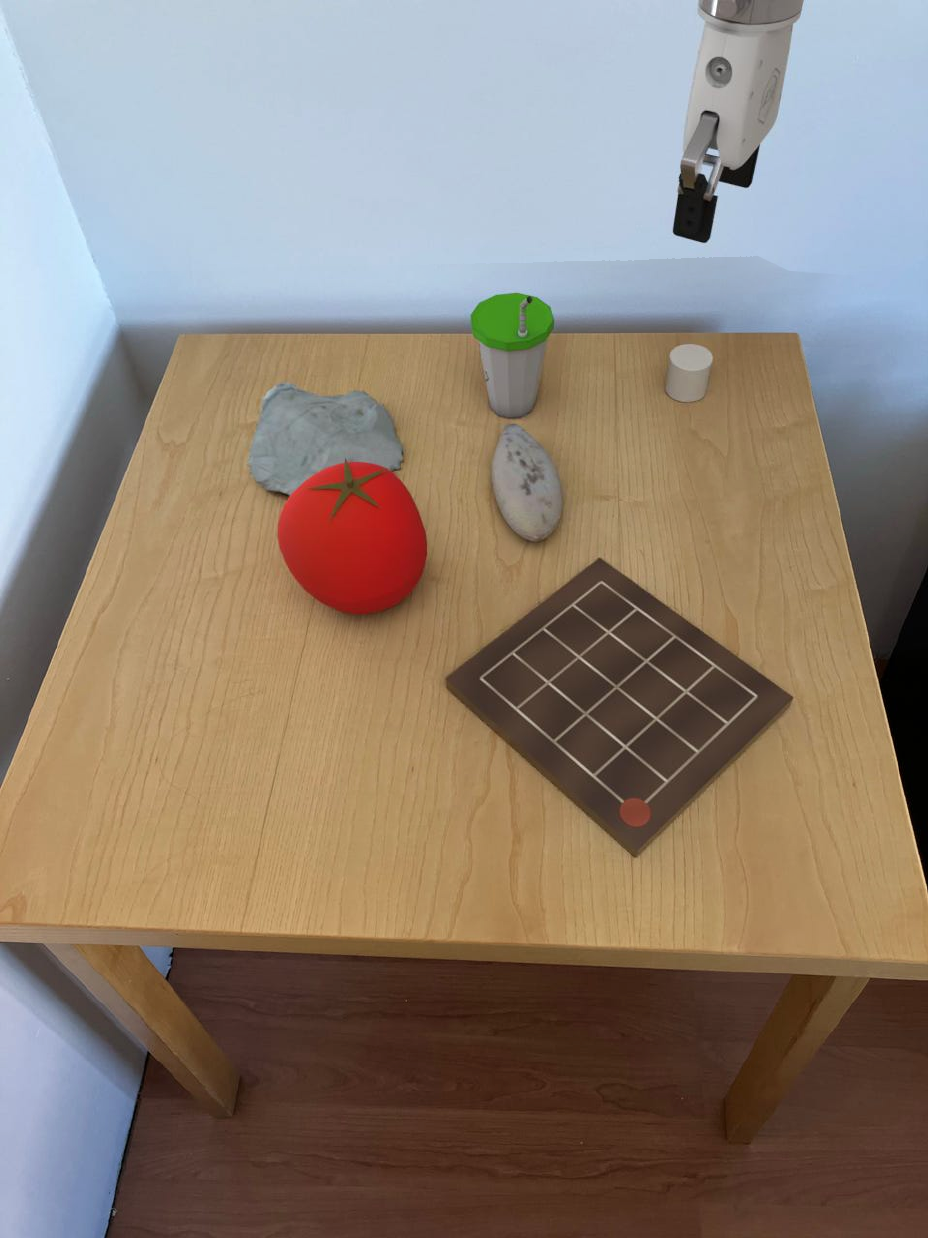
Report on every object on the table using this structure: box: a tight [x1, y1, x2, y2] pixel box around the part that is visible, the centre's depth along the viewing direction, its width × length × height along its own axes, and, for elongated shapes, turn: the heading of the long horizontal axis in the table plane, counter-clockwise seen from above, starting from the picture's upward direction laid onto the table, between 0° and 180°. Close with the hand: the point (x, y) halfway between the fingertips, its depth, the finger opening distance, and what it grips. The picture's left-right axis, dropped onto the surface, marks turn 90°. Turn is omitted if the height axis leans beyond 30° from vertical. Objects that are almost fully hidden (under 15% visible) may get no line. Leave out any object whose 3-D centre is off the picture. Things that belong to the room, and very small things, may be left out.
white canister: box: [664, 343, 714, 403], centre depth 96 cm, size 4×4×4 cm
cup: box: [470, 292, 555, 420], centre depth 92 cm, size 8×8×15 cm
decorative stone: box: [491, 423, 563, 542], centre depth 88 cm, size 6×16×3 cm, turn 10°
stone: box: [247, 381, 404, 497], centre depth 93 cm, size 16×4×15 cm
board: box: [445, 557, 794, 859], centre depth 75 cm, size 20×18×2 cm
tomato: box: [276, 458, 428, 615], centre depth 79 cm, size 12×12×13 cm
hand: (712, 209), depth 84 cm, fingers open, 9 cm apart
